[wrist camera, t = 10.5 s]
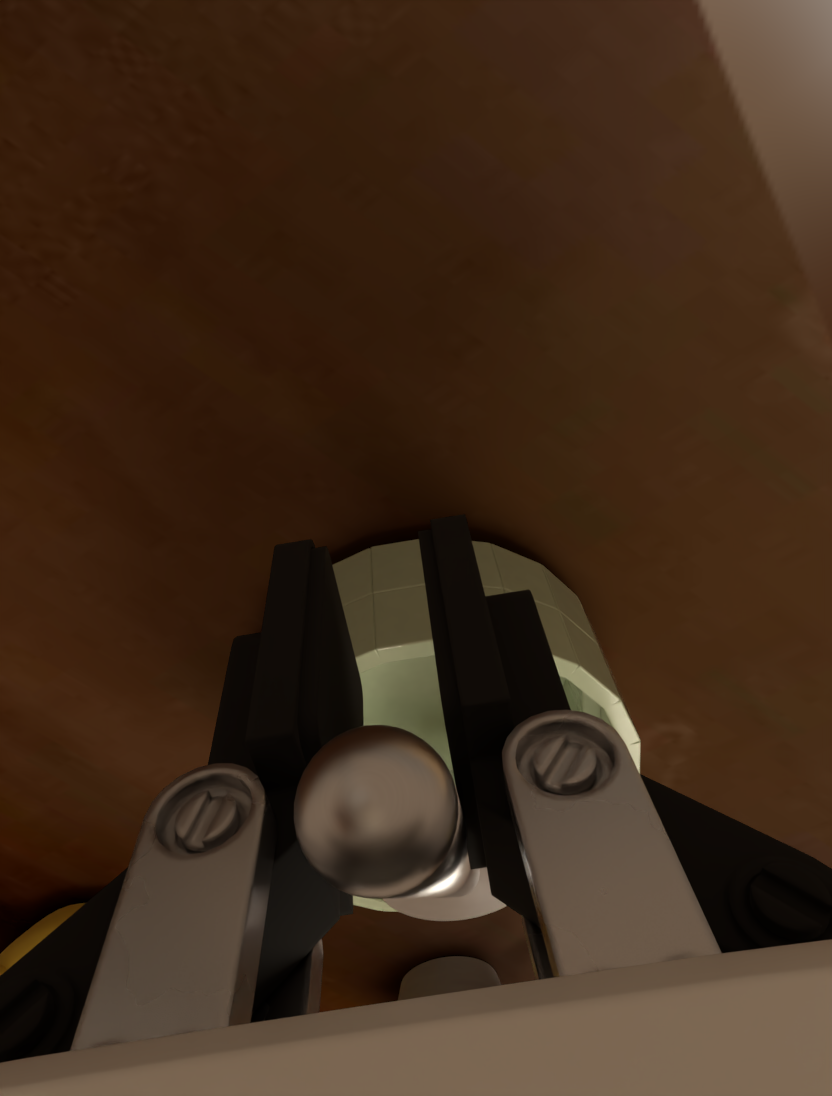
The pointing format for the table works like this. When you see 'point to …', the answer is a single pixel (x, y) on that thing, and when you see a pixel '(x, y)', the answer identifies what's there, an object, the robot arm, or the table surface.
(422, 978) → the mug
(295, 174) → the table surface
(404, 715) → the bowl
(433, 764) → the ladle
